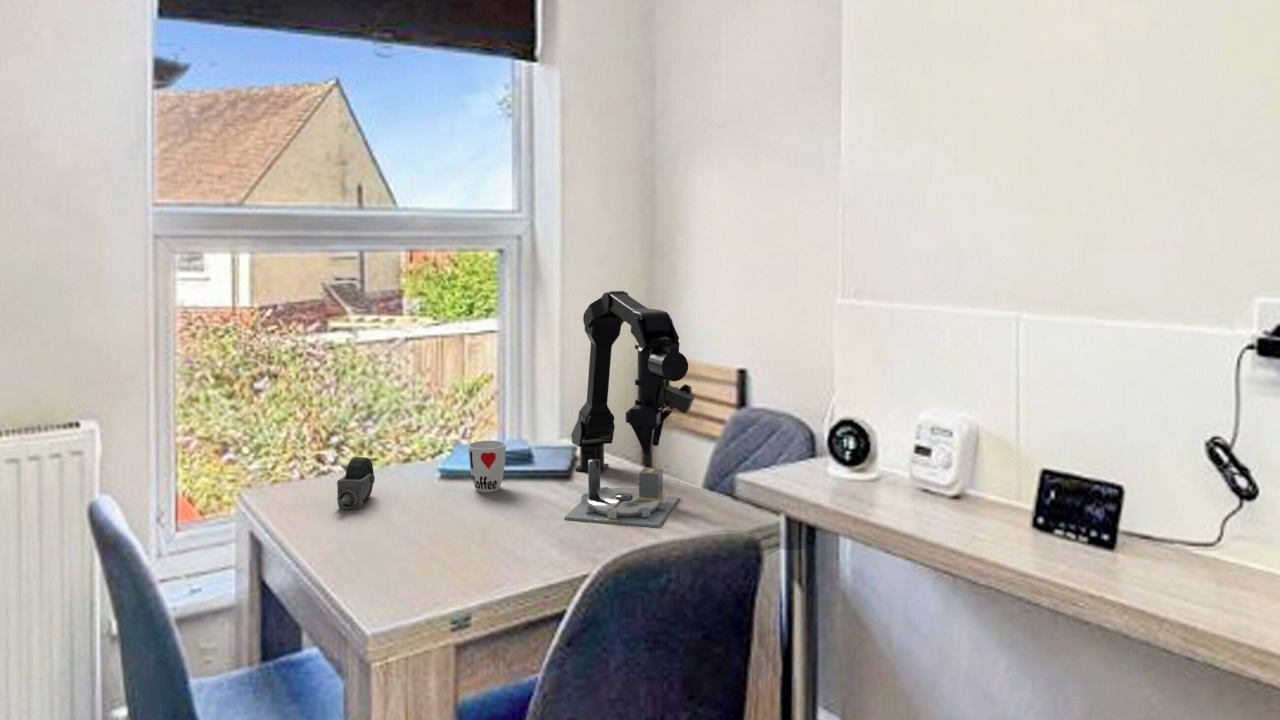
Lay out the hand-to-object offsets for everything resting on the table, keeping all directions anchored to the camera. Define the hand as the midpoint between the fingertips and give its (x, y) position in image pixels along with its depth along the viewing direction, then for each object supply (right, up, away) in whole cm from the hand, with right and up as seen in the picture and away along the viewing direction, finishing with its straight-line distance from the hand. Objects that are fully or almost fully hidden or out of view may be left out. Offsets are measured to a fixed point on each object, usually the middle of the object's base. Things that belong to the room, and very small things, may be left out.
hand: (651, 449), depth 184 cm
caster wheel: (-61, -12, +3) cm, 62 cm away
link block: (0, -9, +1) cm, 10 cm away
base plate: (-6, -12, 0) cm, 13 cm away
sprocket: (-6, -12, 0) cm, 13 cm away
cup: (-36, -10, +14) cm, 40 cm away
